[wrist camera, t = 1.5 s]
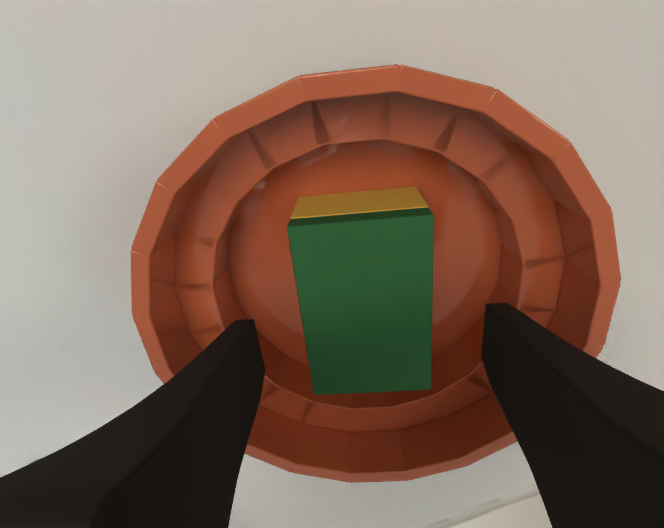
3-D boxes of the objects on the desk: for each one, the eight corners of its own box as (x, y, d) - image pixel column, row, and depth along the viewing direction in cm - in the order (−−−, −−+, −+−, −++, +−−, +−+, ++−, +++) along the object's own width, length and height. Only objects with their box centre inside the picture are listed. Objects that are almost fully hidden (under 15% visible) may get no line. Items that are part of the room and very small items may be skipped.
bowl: (228, 406, 20) (199, 488, 16) (135, 94, 14) (47, 103, 10) (523, 391, 19) (570, 475, 15) (578, 44, 13) (688, 31, 9)
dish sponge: (318, 342, 18) (313, 396, 15) (298, 196, 15) (285, 226, 12) (416, 336, 18) (431, 390, 15) (416, 185, 14) (434, 214, 11)
